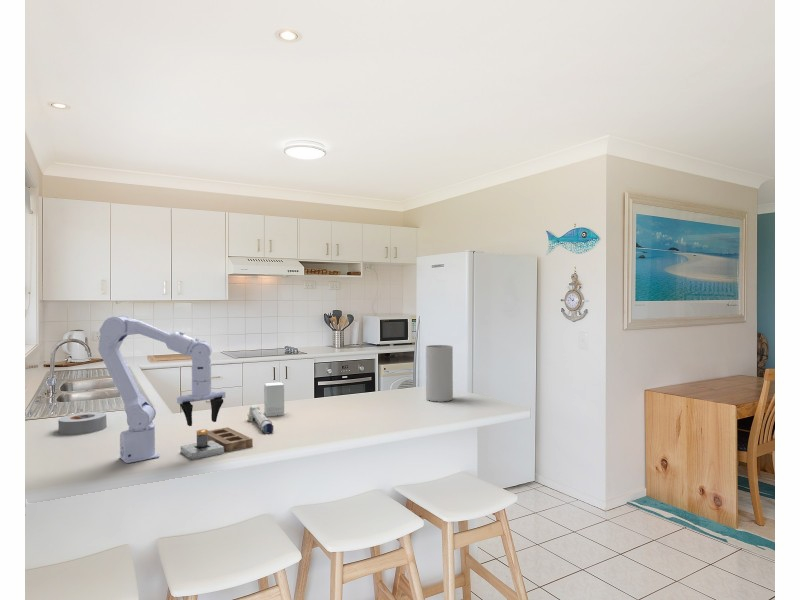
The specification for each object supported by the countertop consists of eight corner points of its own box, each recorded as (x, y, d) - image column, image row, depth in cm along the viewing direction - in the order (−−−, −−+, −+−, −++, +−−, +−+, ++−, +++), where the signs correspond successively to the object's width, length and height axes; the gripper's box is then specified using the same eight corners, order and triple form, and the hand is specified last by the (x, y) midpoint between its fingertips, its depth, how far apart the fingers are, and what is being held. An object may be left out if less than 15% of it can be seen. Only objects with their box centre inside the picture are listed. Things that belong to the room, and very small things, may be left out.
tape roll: (50, 436, 188) (50, 422, 188) (68, 426, 203) (68, 412, 203) (98, 434, 191) (97, 420, 191) (112, 424, 206) (112, 411, 206)
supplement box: (284, 415, 218) (284, 384, 218) (266, 416, 216) (266, 385, 215) (281, 411, 225) (281, 381, 225) (263, 413, 222) (263, 383, 222)
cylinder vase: (439, 403, 240) (439, 348, 239) (420, 399, 249) (420, 346, 249) (458, 399, 248) (458, 346, 248) (438, 395, 257) (438, 344, 257)
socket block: (191, 459, 160) (191, 453, 160) (180, 452, 167) (180, 446, 167) (224, 453, 166) (224, 446, 166) (211, 446, 174) (211, 440, 174)
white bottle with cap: (261, 423, 189) (246, 401, 210) (260, 441, 190) (245, 418, 211) (275, 422, 191) (259, 400, 213) (275, 439, 192) (259, 416, 214)
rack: (225, 451, 168) (225, 443, 168) (202, 438, 183) (202, 431, 183) (252, 446, 174) (252, 438, 174) (227, 434, 189) (227, 427, 189)
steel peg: (199, 455, 165) (198, 432, 165) (195, 452, 167) (195, 430, 167) (209, 453, 167) (209, 430, 167) (205, 450, 169) (205, 428, 169)
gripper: (182, 384, 159) (182, 429, 159) (229, 379, 168) (229, 421, 168) (174, 381, 164) (174, 425, 164) (220, 376, 174) (220, 418, 174)
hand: (202, 423), depth 167 cm, fingers open, 7 cm apart
